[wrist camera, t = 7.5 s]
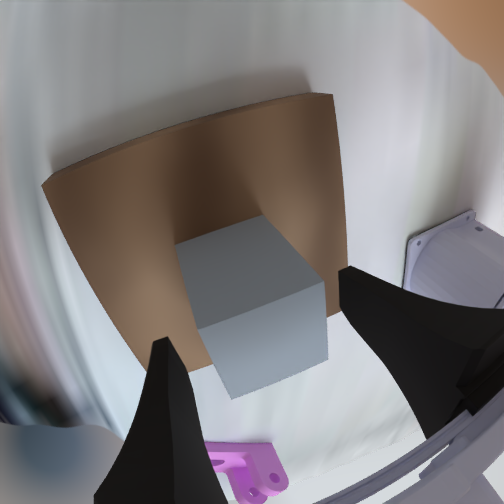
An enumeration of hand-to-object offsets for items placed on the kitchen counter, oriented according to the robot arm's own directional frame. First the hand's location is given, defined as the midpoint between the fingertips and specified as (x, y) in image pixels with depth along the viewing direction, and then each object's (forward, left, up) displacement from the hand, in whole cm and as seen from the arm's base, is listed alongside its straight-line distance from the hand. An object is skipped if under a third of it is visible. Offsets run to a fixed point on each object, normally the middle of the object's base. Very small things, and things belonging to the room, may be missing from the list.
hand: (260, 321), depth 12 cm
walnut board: (0, 0, -7) cm, 7 cm away
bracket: (+8, +25, -7) cm, 27 cm away
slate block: (0, 0, -5) cm, 5 cm away
